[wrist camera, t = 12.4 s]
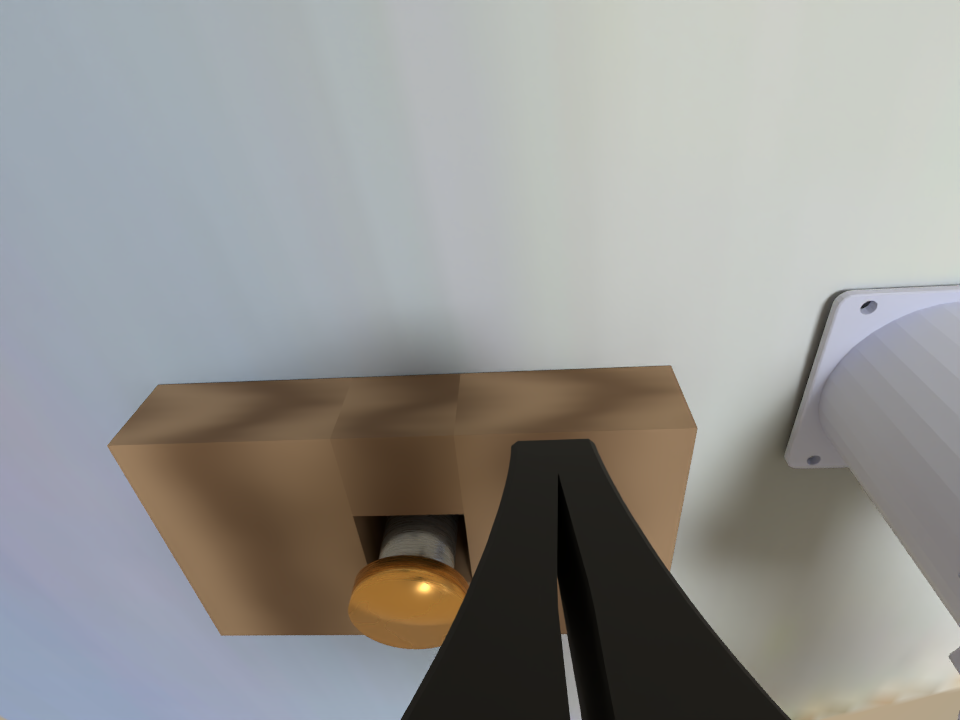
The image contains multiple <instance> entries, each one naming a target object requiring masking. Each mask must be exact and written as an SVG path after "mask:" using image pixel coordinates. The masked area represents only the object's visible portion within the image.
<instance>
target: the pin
mask: <svg viewBox="0 0 960 720" xmlns="http://www.w3.org/2000/svg"><path fill="white" fill-rule="evenodd" d="M458 518H459V514H444V515H393V516H388V517H387V522H386V527H385V531H384V536H383V541H382V546H381V550H380V555H379V559H378V560H376V561H373V562H371V563H369V564H368V565H366V566H365V567H364V568H363V569H361V570H360V572H359V573H358V574H357V576H356V578H355V582H354V586H353V590H352V594H351V598H350V602H349V606H348V614H349V618H350V620H351V622H352V623H353V625H354V626H355V627H356V628H357V629H358V630H359V631H360V632H361V633H363V634H364V635H366V636H367V637H369V638H371V639H373V640H375V641H377V642H380V643H383V644H386V645H389V646H393V647H398V648H406V649H427V648H434V647H439V646H441V645H442V643H443V641H444V639H445V637H446V635H447V633H448V631H449V629H450V627H451V625H452V623H453V621H454V619H455V617H456V615H457V612H458V610H459V608H460V606H461V604H462V602H463V599H464V597H465V595H466V593H467V590H468V588H469V585H468V583H467V581H466V580H465V578H464V577H463V576H462V575H461V574H460V573H459V572H458V571H456V570H455V569H454V566H455V554H456V542H457V530H458Z"/></svg>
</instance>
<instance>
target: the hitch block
mask: <svg viewBox="0 0 960 720" xmlns="http://www.w3.org/2000/svg"><path fill="white" fill-rule="evenodd" d="M696 433H697V426H696V424H695V421H694V419H693V416H692V414H691V412H690V409H689V407H688V405H687V402H686V400H685V398H684V395H683V393H682V391H681V388H680V386H679V383H678V381H677V379H676V376H675V374H674V372H673V369H672V367H671V366H651V367H624V368H597V369H570V370H544V371H517V372H490V373H463V374H436V375H409V376H383V377H356V378H329V379H302V380H275V381H248V382H222V383H195V384H168V385H158V386H157V387H156V388H155V389H154V390H153V392H152V393H151V394H150V395H149V396H148V398H147V399H146V400H145V401H144V402H143V404H142V405H141V406H140V407H139V408H138V409H137V411H136V412H135V413H134V414H133V415H132V417H131V418H130V419H129V420H128V421H127V423H126V424H125V425H124V426H123V427H122V429H121V430H120V431H119V432H118V433H117V434H116V436H115V437H114V438H113V439H112V440H111V442H110V443H109V444H108V445H107V446H108V448H109V450H110V451H111V453H112V455H113V456H114V458H115V460H116V461H117V463H118V465H119V466H120V468H121V470H122V471H123V473H124V475H125V476H126V478H127V480H128V481H129V483H130V485H131V486H132V488H133V490H134V491H135V493H136V495H137V496H138V498H139V500H140V501H141V503H142V505H143V506H144V508H145V510H146V511H147V513H148V515H149V516H150V518H151V520H152V521H153V523H154V525H155V526H156V528H157V530H158V531H159V533H160V534H161V536H162V538H163V539H164V541H165V543H166V544H167V546H168V548H169V549H170V551H171V553H172V554H173V556H174V558H175V559H176V561H177V563H178V564H179V566H180V568H181V569H182V571H183V573H184V574H185V576H186V578H187V579H188V581H189V583H190V584H191V586H192V588H193V589H194V591H195V593H196V594H197V596H198V598H199V599H200V601H201V603H202V604H203V606H204V608H205V609H206V611H207V613H208V614H209V616H210V618H211V619H212V621H213V623H214V624H215V626H216V628H217V629H218V631H219V633H220V634H221V635H364V634H363V633H361V632H360V631H359V630H358V629H357V628H356V627H355V626H354V625H353V623H352V622H351V620H350V618H349V614H348V606H349V602H350V598H351V594H352V590H353V586H354V582H355V578H356V576H357V574H358V573H359V572H360V570H361V569H363V568H364V567H365V566H366V565H368V564H369V563H371V562H373V561H376V560H378V559H379V555H380V550H381V546H382V541H383V536H384V531H385V527H386V522H387V516H393V515H444V514H464V515H459V518H458V530H457V542H456V554H455V566H454V569H455V570H456V571H458V572H459V573H460V574H461V575H462V576H463V577H464V578H465V580H466V581H467V583H468V585H470V583H471V581H472V578H473V576H474V573H475V571H476V568H477V566H478V564H479V561H480V559H481V556H482V554H483V551H484V549H485V546H486V543H487V541H488V538H489V535H490V532H491V529H492V526H493V523H494V520H495V517H496V514H497V511H498V508H499V505H500V501H501V498H502V494H503V490H504V487H505V483H506V479H507V474H508V469H509V463H510V456H511V446H512V445H513V444H514V443H516V442H517V441H531V440H562V439H590V440H591V441H592V442H593V443H595V445H596V448H597V450H598V453H599V455H600V457H601V459H602V461H603V463H604V465H605V467H606V469H607V471H608V473H609V475H610V477H611V479H612V481H613V483H614V485H615V486H616V488H617V490H618V492H619V493H620V495H621V497H622V499H623V501H624V502H625V504H626V506H627V507H628V509H629V511H630V512H631V514H632V516H633V517H634V519H635V520H636V522H637V523H638V525H639V527H640V528H641V530H642V531H643V533H644V534H645V536H646V538H647V539H648V541H649V542H650V544H651V545H652V547H653V548H654V550H655V551H656V553H657V554H658V556H659V557H660V559H661V560H662V562H663V563H664V565H665V566H666V568H667V569H668V570H669V572H670V568H671V563H672V558H673V553H674V547H675V542H676V537H677V532H678V527H679V521H680V516H681V511H682V506H683V501H684V495H685V490H686V485H687V480H688V475H689V469H690V464H691V459H692V454H693V449H694V443H695V438H696ZM557 591H558V611H559V621H560V630H561V634H567V630H566V624H565V619H564V613H563V607H562V601H561V596H560V590H559V584H558V578H557Z"/></svg>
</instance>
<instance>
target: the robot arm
mask: <svg viewBox="0 0 960 720" xmlns="http://www.w3.org/2000/svg"><path fill="white" fill-rule="evenodd" d="M867 301H871V302H870V304H869V305H868V306H866V307H865V308H862V309H860V308H861V306H862V305H863V304H864V303H866V302H867ZM811 456H813V457H811ZM809 457H810V458H809ZM784 459H785V460H786V462H787V464H788V465H789V466H790V467H792V468H797V469H800V468H841V467H849V469H850V470H851V472H852V473H853V475H854V476H855V477H856V479H857V480H858V482H859V483H860V485H861V486H862V487H863V489H864V490H865V492H866V493H867V495H868V496H869V498H870V499H871V500H872V502H873V503H874V505H875V506H876V508H877V509H878V510H879V512H880V513H881V515H882V516H883V518H884V519H885V521H886V522H887V523H888V525H889V526H890V528H891V529H892V531H893V532H894V533H895V535H896V536H897V538H898V539H899V541H900V542H901V544H902V545H903V546H904V548H905V549H906V551H907V552H908V554H909V555H910V557H911V558H912V559H913V561H914V562H915V564H916V565H917V567H918V568H919V569H920V571H921V572H922V574H923V575H924V577H925V578H926V580H927V581H928V582H929V584H930V585H931V587H932V588H933V590H934V591H935V592H936V594H937V595H938V597H939V598H940V600H941V601H942V603H943V604H944V605H945V607H946V608H947V610H948V611H949V613H950V614H951V615H952V617H953V618H954V620H955V621H956V623H957V624H958V626H959V627H960V285H952V286H930V287H908V288H886V289H864V290H850V291H846V292H844V293H842V294H840V295H839V296H838V297H837V298H836V299H835V300H834V302H833V304H832V307H831V310H830V313H829V316H828V319H827V322H826V326H825V329H824V332H823V335H822V338H821V341H820V344H819V348H818V351H817V354H816V357H815V360H814V363H813V366H812V370H811V373H810V376H809V379H808V382H807V385H806V388H805V392H804V395H803V398H802V401H801V404H800V407H799V410H798V414H797V417H796V420H795V423H794V426H793V429H792V432H791V436H790V439H789V442H788V445H787V448H786V451H785V454H784ZM557 578H558V584H559V590H560V596H561V601H562V607H563V613H564V619H565V624H566V630H567V636H568V641H569V647H570V653H571V658H572V664H573V670H574V675H575V681H576V687H577V692H578V698H579V704H580V710H581V717H582V720H791V719H790V718H789V717H788V716H787V715H786V714H785V713H784V712H783V710H782V709H781V708H780V707H779V706H778V705H777V704H776V703H775V702H774V701H773V700H772V699H771V698H770V696H769V695H768V694H767V693H766V692H765V691H764V690H763V688H762V687H761V686H760V685H759V684H758V683H757V681H756V680H755V679H754V678H753V677H752V676H751V675H750V673H749V672H748V671H747V670H746V669H745V668H744V666H743V665H742V664H741V663H740V662H739V661H738V660H737V658H736V657H735V656H734V655H733V653H732V652H731V651H730V650H729V649H728V647H727V646H726V645H725V644H724V642H723V641H722V640H721V639H720V638H719V636H718V635H717V634H716V633H715V632H714V630H713V629H712V628H711V627H710V625H709V624H708V623H707V621H706V620H705V619H704V618H703V616H702V615H701V614H700V612H699V611H698V610H697V608H696V607H695V606H694V605H693V603H692V602H691V601H690V599H689V598H688V597H687V595H686V594H685V592H684V591H683V590H682V588H681V587H680V586H679V584H678V583H677V581H676V580H675V579H674V577H673V576H672V574H671V573H670V572H669V570H668V569H667V568H666V566H665V565H664V563H663V562H662V560H661V559H660V557H659V556H658V554H657V553H656V551H655V550H654V548H653V547H652V545H651V544H650V542H649V541H648V539H647V538H646V536H645V534H644V533H643V531H642V530H641V528H640V527H639V525H638V523H637V522H636V520H635V519H634V517H633V516H632V514H631V512H630V511H629V509H628V507H627V506H626V504H625V502H624V501H623V499H622V497H621V495H620V493H619V492H618V490H617V488H616V486H615V485H614V483H613V481H612V479H611V477H610V475H609V473H608V471H607V469H606V467H605V465H604V463H603V461H602V459H601V457H600V455H599V453H598V450H597V448H596V445H595V443H593V442H592V441H591V440H590V439H562V440H531V441H517V442H516V443H514V444H513V445H512V446H511V456H510V463H509V469H508V474H507V479H506V483H505V487H504V490H503V494H502V498H501V501H500V505H499V508H498V511H497V514H496V517H495V520H494V523H493V526H492V529H491V532H490V535H489V538H488V541H487V543H486V546H485V549H484V551H483V554H482V556H481V559H480V561H479V564H478V566H477V568H476V571H475V573H474V576H473V578H472V581H471V583H470V585H469V588H468V590H467V593H466V595H465V597H464V599H463V602H462V604H461V606H460V608H459V610H458V612H457V615H456V617H455V619H454V621H453V623H452V625H451V627H450V629H449V631H448V633H447V635H446V637H445V639H444V641H443V643H442V645H441V647H440V649H439V651H438V653H437V655H436V657H435V659H434V661H433V663H432V664H431V666H430V668H429V670H428V672H427V674H426V675H425V677H424V679H423V681H422V683H421V684H420V686H419V688H418V690H417V692H416V694H415V695H414V697H413V699H412V701H411V703H410V704H409V706H408V708H407V710H406V711H405V713H404V715H403V716H402V718H401V720H570V713H569V704H568V695H567V686H566V677H565V668H564V658H563V649H562V640H561V630H560V621H559V611H558V591H557ZM949 659H950V660H951V662H952V663H953V665H954V666H955V668H956V669H957V671H958V672H959V674H960V647H959V648H958V649H956V650H955V651H953V652H952V653H951V654H950V655H949ZM958 720H960V711H959V715H958Z"/></svg>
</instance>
